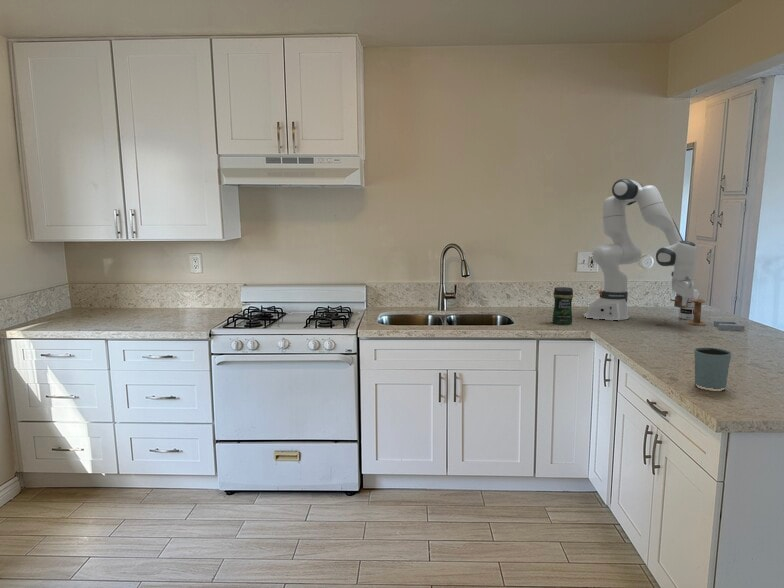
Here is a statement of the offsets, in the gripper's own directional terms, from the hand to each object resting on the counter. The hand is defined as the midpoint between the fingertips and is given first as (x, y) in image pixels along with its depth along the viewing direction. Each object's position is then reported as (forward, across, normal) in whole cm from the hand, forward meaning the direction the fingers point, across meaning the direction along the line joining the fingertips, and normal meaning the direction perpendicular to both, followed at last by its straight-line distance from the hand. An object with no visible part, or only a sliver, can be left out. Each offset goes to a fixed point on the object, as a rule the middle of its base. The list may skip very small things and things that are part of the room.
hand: (681, 303), depth 259 cm
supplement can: (+12, +20, -11) cm, 26 cm away
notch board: (+11, -2, -21) cm, 24 cm away
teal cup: (+8, -95, +19) cm, 97 cm away
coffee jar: (+13, +1, +54) cm, 55 cm away
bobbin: (+11, +6, -10) cm, 16 cm away
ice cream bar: (+2, +1, +1) cm, 2 cm away
